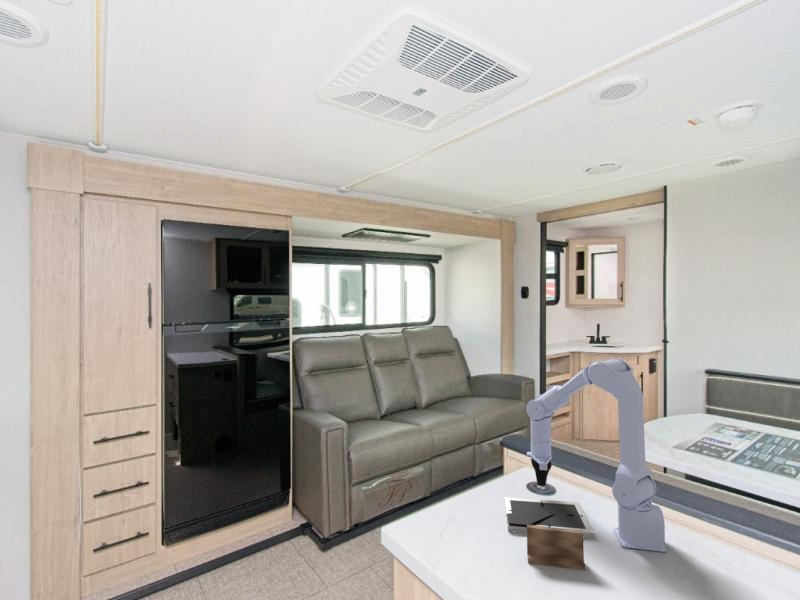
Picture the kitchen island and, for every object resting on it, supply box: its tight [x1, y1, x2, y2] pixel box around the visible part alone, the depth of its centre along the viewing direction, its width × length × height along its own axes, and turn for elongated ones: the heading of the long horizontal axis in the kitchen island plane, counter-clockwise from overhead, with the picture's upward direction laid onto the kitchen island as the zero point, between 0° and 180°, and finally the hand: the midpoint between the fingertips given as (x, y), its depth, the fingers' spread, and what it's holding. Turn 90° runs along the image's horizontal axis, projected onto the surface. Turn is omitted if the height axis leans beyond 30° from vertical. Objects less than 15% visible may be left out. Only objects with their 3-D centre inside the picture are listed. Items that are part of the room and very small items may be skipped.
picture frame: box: [503, 496, 596, 540], centre depth 111 cm, size 16×3×21 cm
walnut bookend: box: [526, 525, 587, 571], centre depth 92 cm, size 12×3×7 cm, turn 76°
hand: (541, 484), depth 122 cm, fingers closed
